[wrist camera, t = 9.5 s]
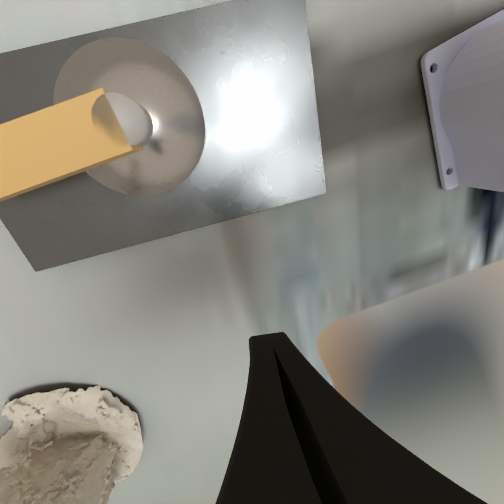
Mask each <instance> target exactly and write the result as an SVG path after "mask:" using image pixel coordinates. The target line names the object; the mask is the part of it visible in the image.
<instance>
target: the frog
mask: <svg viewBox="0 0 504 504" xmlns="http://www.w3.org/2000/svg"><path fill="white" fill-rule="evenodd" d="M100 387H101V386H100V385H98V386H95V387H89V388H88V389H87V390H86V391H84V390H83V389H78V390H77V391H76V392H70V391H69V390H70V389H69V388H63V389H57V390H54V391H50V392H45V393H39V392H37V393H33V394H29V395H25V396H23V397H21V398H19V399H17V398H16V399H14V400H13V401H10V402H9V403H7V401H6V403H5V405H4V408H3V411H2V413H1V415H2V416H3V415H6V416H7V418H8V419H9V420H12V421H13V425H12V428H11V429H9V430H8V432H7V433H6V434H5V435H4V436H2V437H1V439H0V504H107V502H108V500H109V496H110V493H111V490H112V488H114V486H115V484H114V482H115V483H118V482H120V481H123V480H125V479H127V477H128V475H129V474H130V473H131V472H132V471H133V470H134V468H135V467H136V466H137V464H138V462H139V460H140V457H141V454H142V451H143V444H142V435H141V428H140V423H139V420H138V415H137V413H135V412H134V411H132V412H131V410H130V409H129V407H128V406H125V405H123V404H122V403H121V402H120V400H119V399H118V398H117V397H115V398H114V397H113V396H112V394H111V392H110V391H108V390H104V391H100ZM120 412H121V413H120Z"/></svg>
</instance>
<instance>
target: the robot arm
mask: <svg viewBox="0 0 504 504" xmlns="http://www.w3.org/2000/svg"><path fill="white" fill-rule="evenodd" d="M431 66H432V67H433V70H432V72H430V67H431ZM421 69H422V75H423V81H424V87H425V92H426V98H427V104H428V110H429V116H430V121H431V127H432V133H433V139H434V145H435V150H436V156H437V162H438V168H439V174H440V180H441V185H442V188H443V189H445V190H452V189H454V188H456V187H457V186H459V185H460V186H467V187H473V188H480V189H487V190H493V191H500V192H504V9H503V10H501V11H499V12H497V13H496V14H494V15H492V16H490V17H488V18H487V19H485V20H483V21H481V22H480V23H478V24H476V25H474V26H472V27H471V28H469V29H467V30H465V31H464V32H462V33H460V34H458V35H456V36H455V37H453V38H451V39H449V40H448V41H446V42H444V43H442V44H440V45H439V46H437V47H435V48H433V49H432V50H430V51H428V52H426V53H425V54H424V55H423V57H422V59H421ZM447 169H448V172H447V173H446V171H447ZM249 350H250V368H249V376H248V384H247V390H246V395H245V401H244V406H243V411H242V416H241V420H240V424H239V428H238V432H237V436H236V440H235V444H234V447H233V451H232V454H231V457H230V461H229V464H228V468H227V471H226V474H225V477H224V480H223V484H222V487H221V490H220V493H219V495H218V498H217V501H216V504H487V503H486V502H484V501H483V500H481V499H479V498H478V497H476V496H474V495H473V494H471V493H470V492H468V491H466V490H465V489H463V488H462V487H460V486H459V485H457V484H455V483H454V482H453V481H451V480H450V479H448V478H447V477H445V476H444V475H442V474H441V473H439V472H438V471H436V470H435V469H433V468H432V467H431V466H429V465H428V464H426V463H425V462H424V461H422V460H421V459H420V458H418V457H417V456H416V455H414V454H413V453H411V452H410V451H409V450H407V449H406V448H405V447H403V446H402V445H400V444H399V443H398V442H396V441H395V440H394V439H392V438H391V437H390V436H388V435H387V434H386V433H384V432H383V431H382V430H381V429H380V428H378V427H377V426H376V425H375V424H373V423H372V422H371V421H370V420H368V419H367V418H366V417H365V416H364V415H363V414H362V413H360V412H359V411H358V410H357V409H356V408H355V407H353V406H352V405H351V404H350V403H349V402H348V401H347V400H346V399H345V398H344V397H342V396H341V395H340V394H339V393H338V392H337V391H336V390H335V389H334V388H333V387H332V386H331V385H330V384H329V383H328V382H327V381H326V380H325V379H324V378H323V377H322V376H321V375H320V374H319V373H318V371H317V370H316V369H315V368H314V367H313V366H312V365H311V364H310V363H309V362H308V361H307V360H306V358H305V357H304V356H303V355H302V354H301V353H300V351H299V350H298V349H297V348H296V347H295V345H294V344H293V343H292V342H291V340H290V339H289V338H288V336H287V335H286V334H285V333H284V332H279V333H272V334H265V335H258V336H251V338H250V339H249Z"/></svg>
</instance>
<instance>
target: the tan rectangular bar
mask: <svg viewBox="0 0 504 504" xmlns="http://www.w3.org/2000/svg"><path fill="white" fill-rule="evenodd" d="M152 133H153V122H152V119H151V116H150V114H149V113H148V112H147V110H146V109H145V108H144V107H143V106H141V105H140V104H138V103H136V102H135V101H133V100H132V99H130V98H128V97H127V96H125V95H123V94H120V93H116V92H108V91H107V90H105V89H103V88H100V89H97V90H95V91H92V92H89V93H86V94H84V95H81V96H78V97H75V98H72V99H70V100H67V101H64V102H61V103H59V104H56V105H53V106H50V107H47V108H45V109H42V110H39V111H36V112H34V113H31V114H28V115H25V116H22V117H20V118H17V119H14V120H11V121H9V122H6V123H3V124H0V202H1V201H4V200H7V199H9V198H12V197H15V196H18V195H20V194H23V193H26V192H29V191H31V190H34V189H37V188H40V187H42V186H45V185H48V184H51V183H53V182H56V181H59V180H62V179H64V178H67V177H70V176H73V175H75V174H78V173H81V172H84V171H86V170H89V169H92V168H95V167H97V166H100V165H103V164H106V163H108V162H111V161H114V160H117V159H119V158H122V157H125V156H128V155H130V154H133V153H136V152H139V151H141V150H144V149H143V147H142V145H144V144H146V143H147V142H148V141H149V140H150V138H151V136H152Z"/></svg>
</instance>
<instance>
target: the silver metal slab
mask: <svg viewBox="0 0 504 504" xmlns="http://www.w3.org/2000/svg"><path fill="white" fill-rule="evenodd" d="M100 88H103V89H105V90H107V91H108V92H116V93H120V94H123V95H125V96H127V97H128V98H130V99H132V100H133V101H135V102H136V103H138V104H140V105H141V106H143V107H144V108H145V109H146V110H147V112H148V113H149V114H150V116H151V119H152V122H153V133H152V136H151V138H150V140H149V141H148V142H147V143H146V144H144V145H142V147H143V149H144V150H141V151H139V152H136V153H133V154H130V155H128V156H125V157H122V158H119V159H117V160H114V161H111V162H108V163H106V164H103V165H100V166H97V167H95V168H92V169H89V170H86V171H84V172H81V173H78V174H75V175H73V176H70V177H67V178H64V179H62V180H59V181H56V182H53V183H51V184H48V185H45V186H42V187H40V188H37V189H34V190H31V191H29V192H26V193H23V194H20V195H18V196H15V197H12V198H9V199H7V200H4V201H1V202H0V219H1V220H2V222H3V223H4V225H5V226H6V228H7V229H8V231H9V232H10V234H11V235H12V237H13V238H14V240H15V241H16V243H17V244H18V246H19V247H20V249H21V250H22V252H23V253H24V255H25V256H26V258H27V259H28V261H29V262H30V264H31V265H32V267H33V268H34V270H35V271H36V272H37V271H40V270H44V269H48V268H52V267H55V266H59V265H63V264H66V263H70V262H74V261H77V260H81V259H85V258H89V257H92V256H96V255H100V254H103V253H107V252H111V251H114V250H118V249H122V248H126V247H129V246H133V245H137V244H140V243H144V242H148V241H151V240H155V239H159V238H163V237H166V236H170V235H174V234H177V233H181V232H185V231H188V230H192V229H196V228H200V227H203V226H207V225H211V224H214V223H218V222H222V221H225V220H229V219H233V218H237V217H240V216H244V215H248V214H251V213H255V212H259V211H262V210H266V209H270V208H274V207H277V206H281V205H285V204H288V203H292V202H296V201H299V200H303V199H307V198H311V197H314V196H318V195H322V194H325V193H326V185H325V176H324V167H323V158H322V149H321V140H320V131H319V122H318V114H317V105H316V96H315V87H314V78H313V69H312V60H311V51H310V42H309V33H308V24H307V15H306V6H305V0H233V1H228V2H224V3H219V4H215V5H211V6H206V7H202V8H197V9H193V10H189V11H184V12H180V13H176V14H171V15H167V16H162V17H158V18H154V19H149V20H145V21H141V22H136V23H132V24H127V25H123V26H119V27H114V28H110V29H106V30H101V31H97V32H92V33H88V34H84V35H79V36H75V37H71V38H66V39H62V40H57V41H53V42H49V43H44V44H40V45H36V46H31V47H27V48H22V49H18V50H14V51H9V52H5V53H1V54H0V124H3V123H6V122H9V121H11V120H14V119H17V118H20V117H22V116H25V115H28V114H31V113H34V112H36V111H39V110H42V109H45V108H47V107H50V106H53V105H56V104H59V103H61V102H64V101H67V100H70V99H72V98H75V97H78V96H81V95H84V94H86V93H89V92H92V91H95V90H97V89H100Z"/></svg>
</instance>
